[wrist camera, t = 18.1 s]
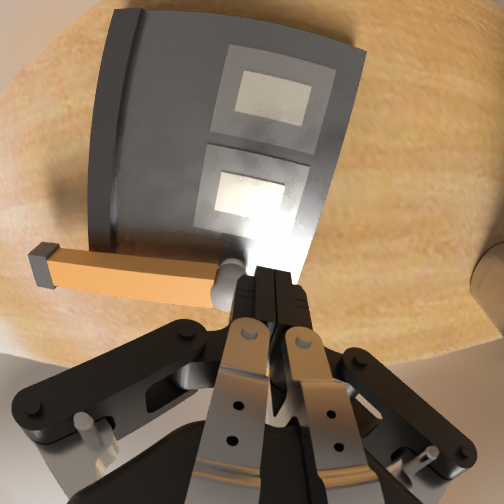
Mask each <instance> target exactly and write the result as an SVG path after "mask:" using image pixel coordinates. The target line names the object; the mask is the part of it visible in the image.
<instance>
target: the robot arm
mask: <svg viewBox="0 0 504 504" xmlns="http://www.w3.org/2000/svg"><path fill="white" fill-rule="evenodd" d="M470 290H471V294H472V296H473V297H474V299H475V300H476V301H477V303H478V304H479V305H480V306H481V308H482V309H483V310H484V312H485V313H486V314H487V316H488V317H489V318H490V320H491V321H492V322H493V324H494V325H495V327H496V328H497V329H498V331H499V332H500V334H501V335H502V336H503V338H504V243H500V244H497V245H496V246H494V247H492V248H491V249H490V250H489V251H488V252H487V253H486V254H485V255H484V256H483V257H482V259H481V260H480V261H479V263H478V265H477V266H476V268H475V271H474V273H473V276H472V279H471V285H470ZM267 367H269V375H268V377H267V376H266V368H267ZM213 387H214V391H213V394H212V398H211V402H210V406H209V410H208V414H207V418H206V420H202V421H197V422H192V423H189V424H186V425H183V426H181V427H179V428H177V429H175V430H174V431H172V432H171V433H169V434H168V435H167V436H165V437H164V438H162V439H161V440H160V441H158V442H157V443H155V444H154V445H152V446H151V447H149V448H148V449H146V450H145V451H143V452H142V453H140V454H139V455H137V456H136V457H134V458H133V459H131V460H130V461H128V462H126V463H125V464H123V465H122V466H120V467H119V468H117V469H116V470H114V471H112V472H110V473H109V474H107V475H106V476H104V477H103V474H104V471H105V470H106V468H107V467H108V466H109V465H110V464H111V463H113V462H114V461H115V460H116V458H117V456H118V452H119V446H118V443H117V441H118V440H120V439H121V438H123V437H125V436H126V435H128V434H130V433H132V432H133V431H135V430H137V429H139V428H140V427H142V426H144V425H145V424H147V423H149V422H150V421H152V420H154V419H155V418H157V417H159V416H160V415H162V414H163V413H165V412H167V411H168V410H170V409H171V408H173V407H175V406H176V405H178V404H179V403H181V402H182V401H184V400H185V399H187V398H188V397H190V396H192V395H193V394H195V393H196V392H197V390H198V389H201V388H213ZM358 394H361V395H362V396H363V397H364V398H365V399H366V400H367V401H368V402H369V403H370V404H372V406H374V407H375V408H376V409H377V410H378V411H379V412H380V413H381V415H382V419H378V418H376V417H375V416H374V415H373V414H372V413H371V412H369V410H368V409H366V408H365V407H364V406H363V405H362V404H361V403H360V402H359V401H358V400H357V399H356V398H355V397H356V396H357V395H358ZM267 401H268V412H269V425H268V424H265V418H266V408H267ZM12 415H13V417H14V419H15V421H16V422H17V423H18V425H19V426H20V427H21V428H22V429H23V431H24V433H25V434H26V436H27V437H28V438H29V439H30V440H31V441H32V443H33V444H34V445H35V446H36V447H37V448H38V450H39V451H40V453H41V455H42V457H43V458H44V460H45V462H46V464H47V466H48V467H49V469H50V471H51V472H52V474H53V476H54V477H55V479H56V480H57V482H58V483H59V485H60V486H61V488H62V490H63V491H64V493H65V494H66V495H67V497H68V498H69V501H68V503H67V504H437V503H438V502H439V500H440V499H441V497H442V495H443V494H444V492H445V491H446V489H447V487H448V486H449V484H450V482H451V481H452V480H453V479H454V478H456V477H457V476H459V475H460V474H462V473H463V472H465V471H466V470H468V469H469V468H471V467H472V466H473V465H474V464H475V462H476V460H477V451H476V448H475V445H474V444H473V442H472V441H471V440H470V439H468V438H467V437H466V436H465V435H464V434H463V433H461V432H460V431H459V430H458V429H457V428H455V427H454V426H453V425H452V424H451V423H450V422H449V421H448V420H446V419H445V418H444V417H443V416H442V415H441V414H439V413H438V412H437V411H436V410H435V409H434V408H432V407H431V406H430V405H429V404H428V403H427V402H426V401H424V400H423V399H422V398H421V397H420V396H419V395H417V394H416V393H415V392H414V391H413V390H412V389H410V388H409V387H408V386H407V385H406V384H405V383H403V382H402V381H401V380H400V379H399V378H398V377H396V376H395V375H394V374H393V373H392V372H391V371H390V370H388V369H387V368H386V367H385V366H384V365H383V364H382V363H380V362H379V361H378V360H377V359H376V358H375V357H373V356H372V355H371V354H370V353H369V352H367V351H366V350H363V349H361V348H356V347H352V348H348V349H347V350H345V352H344V353H343V354H341V353H338V352H335V351H333V350H330V349H328V348H326V347H324V346H323V343H322V340H321V338H320V336H319V335H318V334H317V333H316V332H314V331H313V328H312V322H311V317H310V311H309V306H308V303H307V296H306V292H305V291H304V290H303V288H302V287H301V286H300V285H296V284H293V283H292V276H291V272H288V271H283V270H278V269H273V268H268V267H263V266H258V265H257V266H256V269H255V273H254V276H250V275H245V274H243V275H242V276H241V277H240V278H239V279H238V280H237V283H236V288H235V292H234V296H233V301H232V305H231V311H230V318H229V324H228V326H227V327H225V328H223V329H221V330H217V331H206V329H205V328H204V327H203V326H202V325H201V324H200V323H198V322H196V321H193V320H189V319H179V320H175V321H173V322H171V323H169V324H166V325H164V326H162V327H160V328H158V329H156V330H154V331H152V332H150V333H147V334H145V335H143V336H141V337H139V338H137V339H135V340H132V341H130V342H128V343H126V344H124V345H122V346H120V347H117V348H115V349H113V350H111V351H109V352H106V353H104V354H102V355H100V356H98V357H95V358H93V359H91V360H89V361H87V362H84V363H82V364H80V365H78V366H75V367H73V368H71V369H69V370H66V371H64V372H62V373H60V374H57V375H55V376H53V377H50V378H48V379H46V380H43V381H41V382H39V383H36V384H34V385H32V386H29V387H27V388H24V389H23V390H21V391H19V392H18V393H17V395H16V396H15V397H14V399H13V401H12Z"/></svg>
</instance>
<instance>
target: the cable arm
mask: <svg viewBox="0 0 504 504" xmlns="http://www.w3.org/2000/svg"><path fill="white" fill-rule="evenodd" d="M28 257H29V261H30V264H31V268H32V271H33V275H34V278H35V281H36V284H37V286H39V287H44V288H49V289H55V288H56V287H57V286H58V287H64V288H69V289H75V290H81V291H86V292H92V293H99V294H105V295H111V296H118V297H125V298H131V299H139V300H146V301H153V302H161V303H169V304H178V305H186V306H195V307H205V308H213V307H214V306H215V307H216V308H217V309H219V310H221V311H224V312H230V311H231V305H232V301H233V296H234V292H235V288H236V283H237V280H238V279H239V278H240V277H241V276H242V275H243V274H245V275H247V273H246V271H245V269H244V268H243V267H241V266H240V265H237V264H233V263H228V264H224V265H222V266H220V267H219V268H218V269H217V265H218V264H213V263H202V262H192V261H181V260H171V259H160V258H150V257H140V256H130V255H121V254H111V253H101V252H92V251H83V250H74V249H65V248H60V246H59V244H57V243H47V242H41V243H40V244H39V245H38V246H37V247H36V248H35V249H33V250H32V251H31V252H30V253H29V254H28Z"/></svg>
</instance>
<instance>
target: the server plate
mask: <svg viewBox="0 0 504 504" xmlns="http://www.w3.org/2000/svg"><path fill="white" fill-rule="evenodd" d="M366 53H367V51H364V50H362V49H359V48H357V47H354V46H351V45H348V44H346V43H343V42H340V41H337V40H334V39H331V38H328V37H325V36H321V35H318V34H315V33H311V32H308V31H304V30H300V29H296V28H292V27H288V26H284V25H280V24H275V23H271V22H266V21H261V20H255V19H250V18H244V17H237V16H230V15H223V14H214V13H204V12H191V11H169V10H143V9H142V8H128V9H114V12H113V16H112V19H111V23H110V27H109V31H108V35H107V39H106V43H105V47H104V52H103V56H102V61H101V66H100V71H99V77H98V83H97V89H96V95H95V102H94V110H93V118H92V127H91V137H90V150H89V167H88V238H89V251H92V252H101V253H111V254H121V255H130V256H140V257H150V258H160V259H171V260H181V261H192V262H202V263H213V264H218V265H217V269H218V268H219V267H220V266H222V265H224V264H228V263H233V264H237V265H240V266H241V267H243V268H244V269H245V271H246V273H247V275H250V276H254V273H255V269H256V266H257V265H258V266H263V267H268V268H273V269H278V270H283V271H288V272H291V276H292V283H293V284H297V281H298V278H299V275H300V273H301V270H302V267H303V264H304V261H305V259H306V256H307V253H308V250H309V247H310V244H311V241H312V238H313V235H314V233H315V230H316V227H317V224H318V221H319V218H320V215H321V211H322V208H323V205H324V202H325V199H326V196H327V193H328V190H329V187H330V183H331V180H332V177H333V174H334V170H335V167H336V164H337V161H338V157H339V154H340V151H341V147H342V144H343V140H344V137H345V133H346V130H347V126H348V123H349V119H350V116H351V112H352V108H353V104H354V101H355V97H356V93H357V89H358V86H359V82H360V78H361V74H362V70H363V66H364V62H365V57H366Z"/></svg>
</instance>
